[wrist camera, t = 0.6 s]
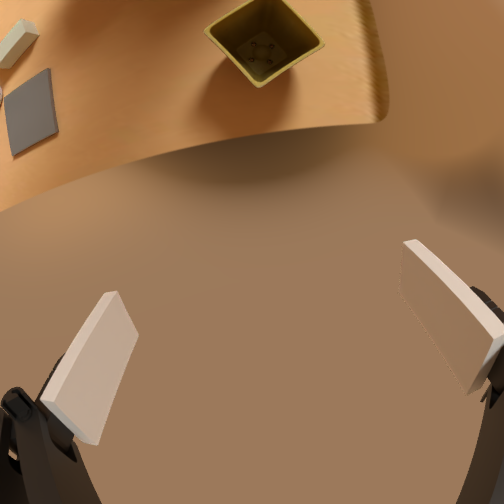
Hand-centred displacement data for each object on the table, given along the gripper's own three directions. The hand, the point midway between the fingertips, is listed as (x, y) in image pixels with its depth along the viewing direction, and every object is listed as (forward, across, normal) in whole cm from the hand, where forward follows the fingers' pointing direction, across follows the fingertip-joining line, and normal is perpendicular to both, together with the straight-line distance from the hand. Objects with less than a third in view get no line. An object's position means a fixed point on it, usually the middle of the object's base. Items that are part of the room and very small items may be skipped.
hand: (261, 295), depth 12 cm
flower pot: (+27, +4, +16) cm, 32 cm away
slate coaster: (+27, -32, +20) cm, 46 cm away
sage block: (+27, -32, +34) cm, 54 cm away
